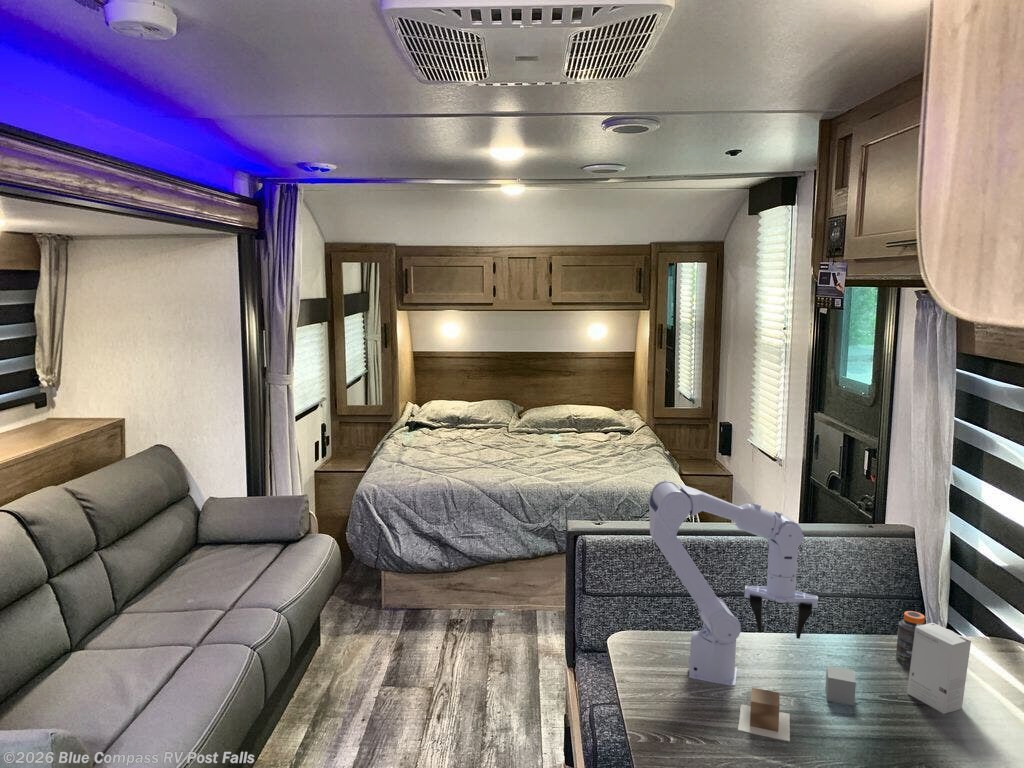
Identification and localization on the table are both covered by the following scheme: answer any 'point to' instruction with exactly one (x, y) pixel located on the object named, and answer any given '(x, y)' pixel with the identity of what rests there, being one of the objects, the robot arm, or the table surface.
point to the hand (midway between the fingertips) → (778, 633)
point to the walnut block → (764, 709)
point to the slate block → (840, 685)
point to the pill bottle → (907, 636)
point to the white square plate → (781, 734)
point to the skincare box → (938, 667)
